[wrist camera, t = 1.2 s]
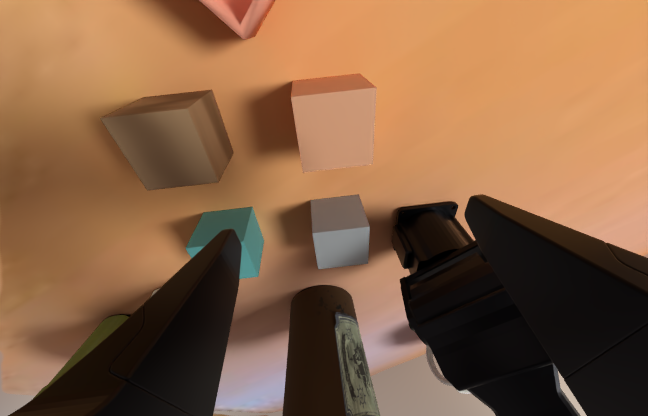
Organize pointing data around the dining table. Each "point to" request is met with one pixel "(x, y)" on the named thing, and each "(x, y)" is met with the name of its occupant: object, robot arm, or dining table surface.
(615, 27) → the dining table surface
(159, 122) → the walnut block
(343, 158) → the terracotta block
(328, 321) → the olive oil
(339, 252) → the slate grey block
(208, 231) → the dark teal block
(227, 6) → the pottery
